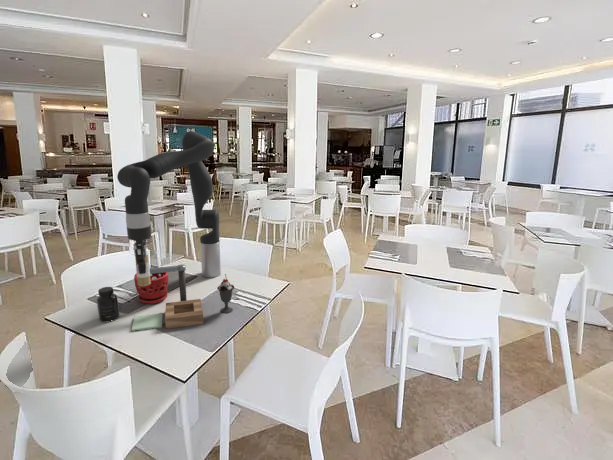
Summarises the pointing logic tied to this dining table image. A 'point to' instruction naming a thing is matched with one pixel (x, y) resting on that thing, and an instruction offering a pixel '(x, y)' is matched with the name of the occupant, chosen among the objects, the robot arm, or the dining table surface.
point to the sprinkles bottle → (145, 278)
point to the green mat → (147, 321)
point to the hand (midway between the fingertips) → (143, 270)
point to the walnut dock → (183, 309)
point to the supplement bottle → (107, 304)
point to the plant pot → (153, 289)
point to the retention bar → (168, 269)
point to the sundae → (226, 294)
